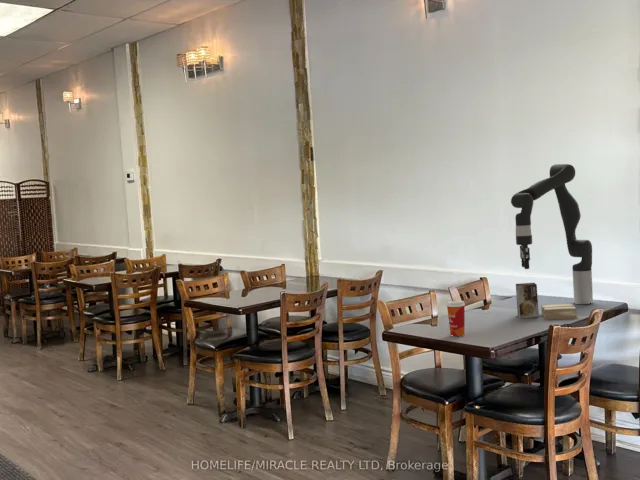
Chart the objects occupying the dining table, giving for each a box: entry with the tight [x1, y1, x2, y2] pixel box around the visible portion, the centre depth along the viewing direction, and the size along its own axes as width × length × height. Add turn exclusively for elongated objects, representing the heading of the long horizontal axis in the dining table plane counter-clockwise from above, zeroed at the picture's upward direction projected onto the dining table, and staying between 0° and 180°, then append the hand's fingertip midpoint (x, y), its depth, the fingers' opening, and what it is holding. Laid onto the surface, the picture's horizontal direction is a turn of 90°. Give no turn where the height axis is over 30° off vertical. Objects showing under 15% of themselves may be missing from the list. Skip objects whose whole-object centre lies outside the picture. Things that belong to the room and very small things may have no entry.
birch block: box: [540, 303, 578, 320], centre depth 319 cm, size 13×14×5 cm
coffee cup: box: [446, 300, 466, 337], centre depth 293 cm, size 8×8×15 cm
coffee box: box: [515, 282, 540, 319], centre depth 322 cm, size 9×6×16 cm
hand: (525, 267), depth 321 cm, fingers open, 8 cm apart
